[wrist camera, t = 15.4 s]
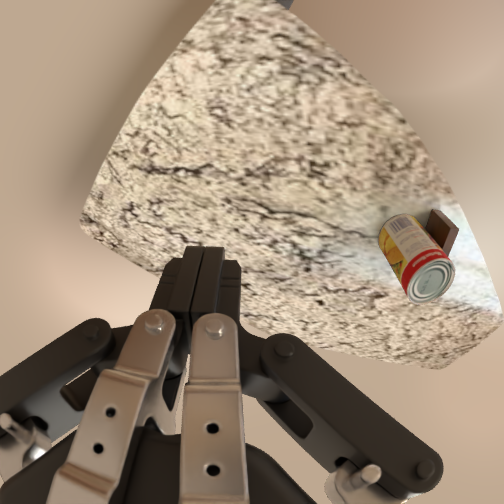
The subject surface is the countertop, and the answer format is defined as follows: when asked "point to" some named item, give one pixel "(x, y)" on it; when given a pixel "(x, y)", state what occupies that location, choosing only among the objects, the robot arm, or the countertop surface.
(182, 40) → the countertop surface
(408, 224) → the canned food
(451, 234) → the brown rectangular block
